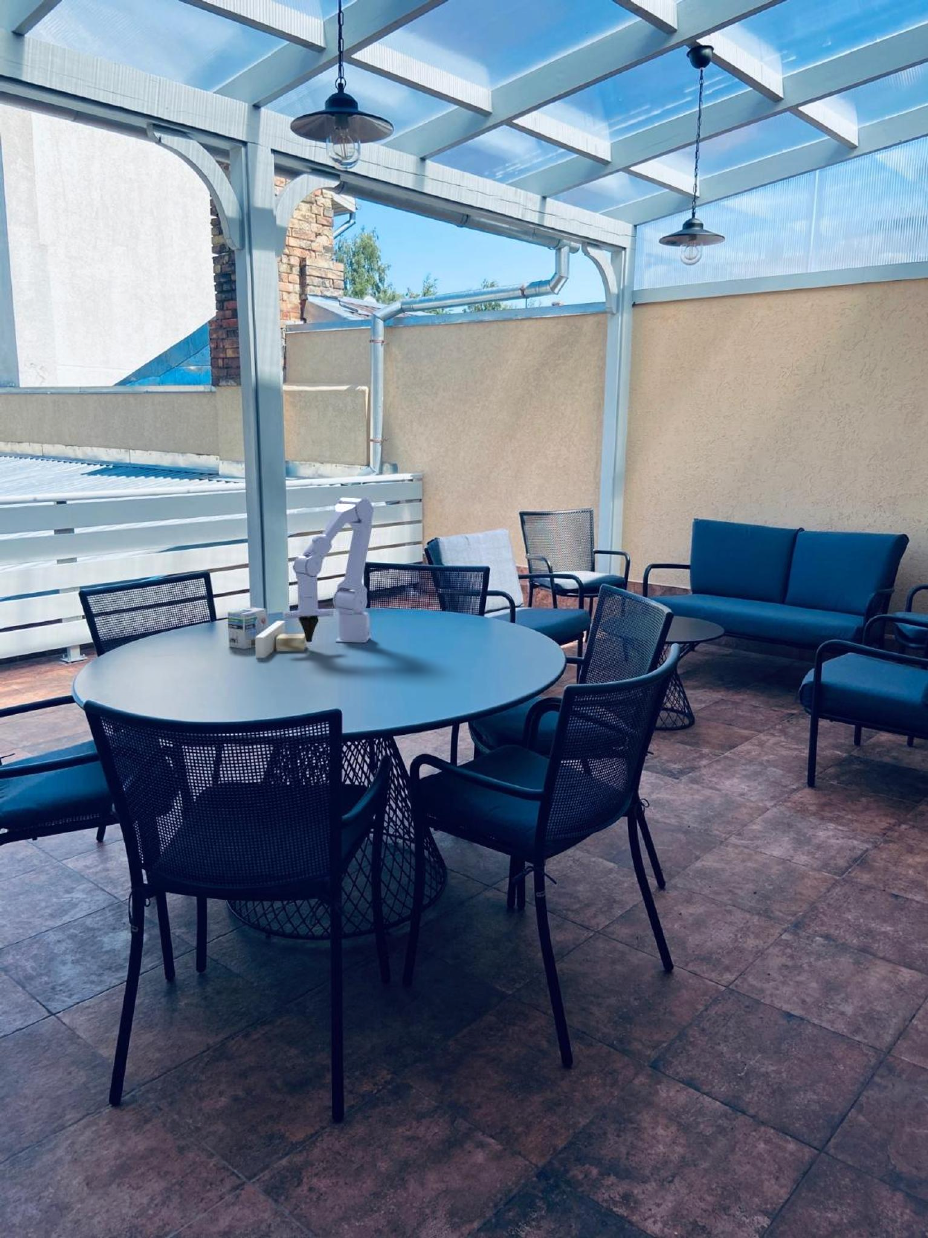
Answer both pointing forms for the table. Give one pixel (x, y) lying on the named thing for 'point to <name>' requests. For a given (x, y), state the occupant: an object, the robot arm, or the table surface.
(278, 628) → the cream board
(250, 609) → the light bulb box
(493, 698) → the table surface
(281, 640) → the maple block
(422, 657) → the table surface
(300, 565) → the robot arm
